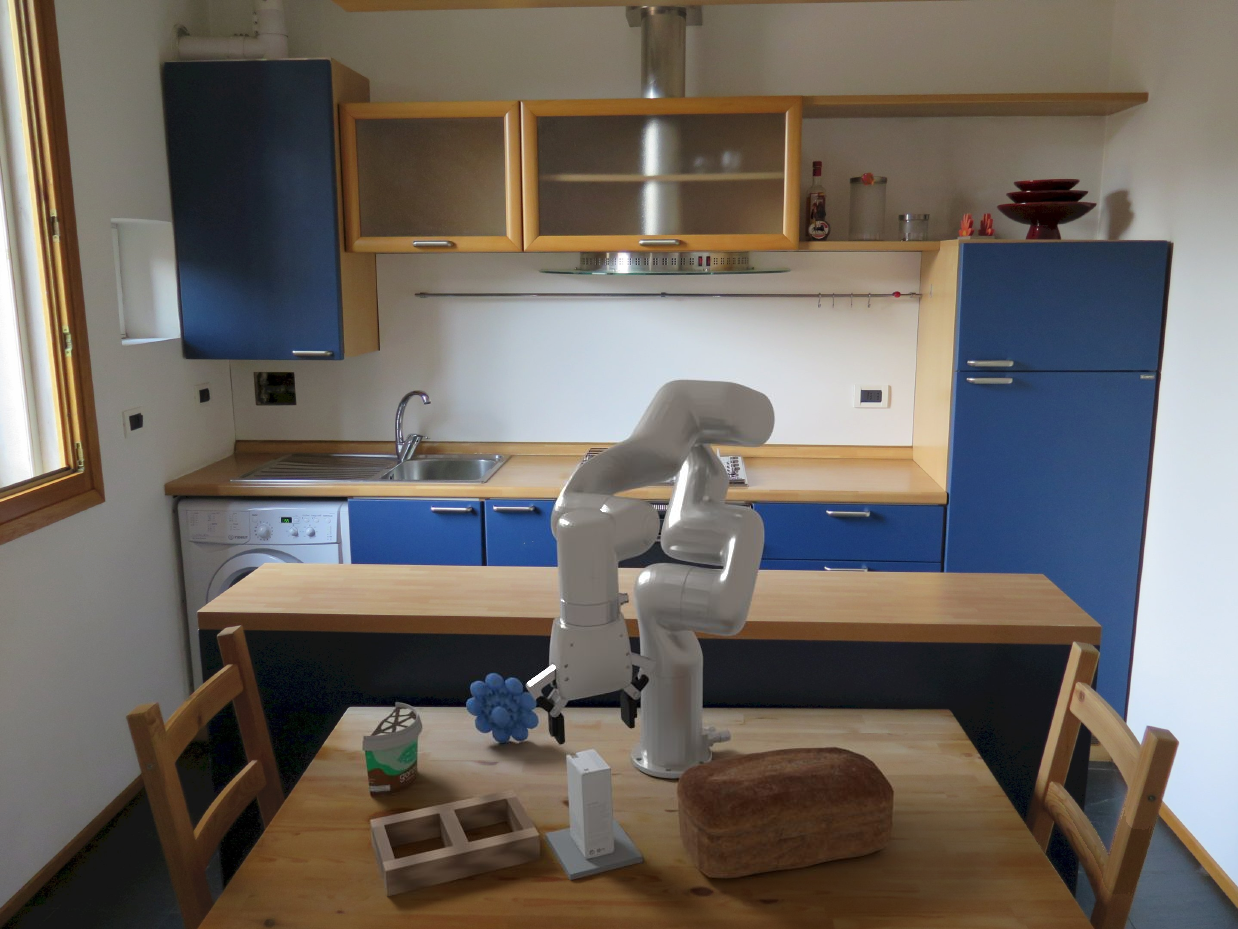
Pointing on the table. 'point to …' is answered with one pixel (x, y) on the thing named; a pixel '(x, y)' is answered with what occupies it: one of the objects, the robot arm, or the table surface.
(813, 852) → the bread
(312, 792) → the table surface
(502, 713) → the blue knobbed wheel
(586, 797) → the skincare box
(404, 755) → the food container
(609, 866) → the mat
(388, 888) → the board
